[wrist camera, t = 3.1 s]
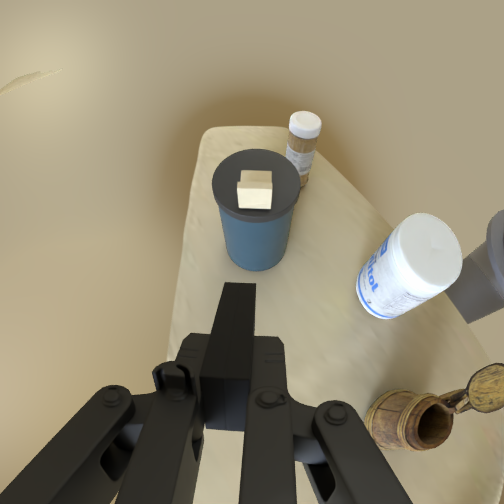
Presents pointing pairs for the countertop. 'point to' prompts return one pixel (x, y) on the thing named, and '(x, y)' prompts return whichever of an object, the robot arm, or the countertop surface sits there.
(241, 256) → the tumbler
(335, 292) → the countertop surface
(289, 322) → the countertop surface
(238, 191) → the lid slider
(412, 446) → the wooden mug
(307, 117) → the sprinkles bottle
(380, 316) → the supplement tub
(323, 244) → the countertop surface
